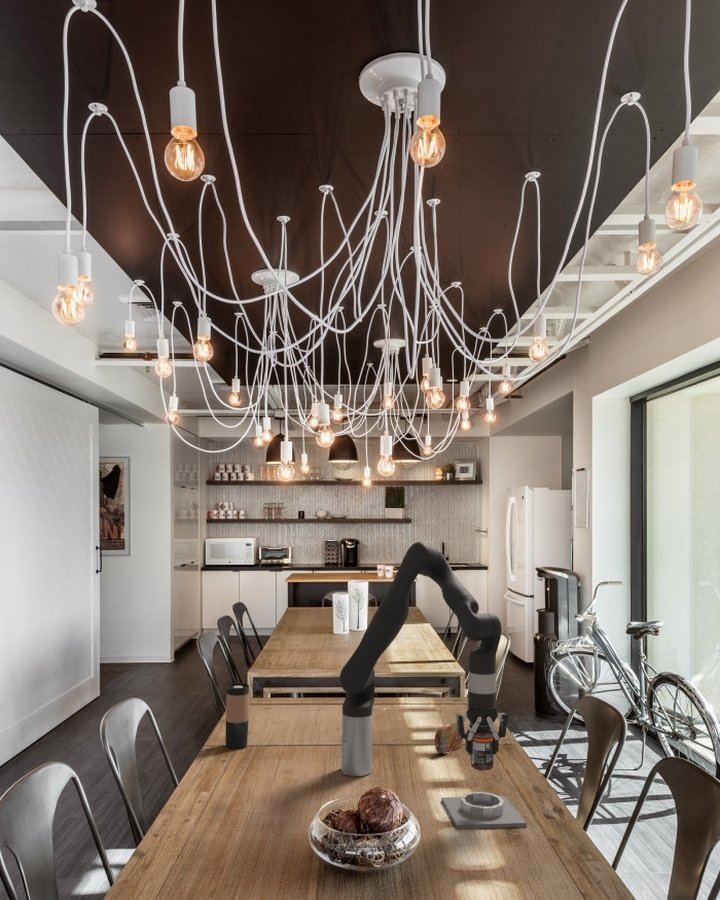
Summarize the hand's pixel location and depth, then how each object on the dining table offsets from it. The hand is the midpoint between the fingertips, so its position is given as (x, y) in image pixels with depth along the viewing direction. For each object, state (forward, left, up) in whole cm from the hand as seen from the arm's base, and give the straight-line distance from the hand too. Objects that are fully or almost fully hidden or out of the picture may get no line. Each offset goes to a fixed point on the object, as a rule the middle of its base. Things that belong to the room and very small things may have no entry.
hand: (481, 753), depth 194 cm
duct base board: (0, 0, -15) cm, 15 cm away
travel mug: (-68, +61, -16) cm, 93 cm away
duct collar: (0, 0, -15) cm, 15 cm away
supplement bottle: (0, 0, -4) cm, 4 cm away
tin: (+3, +52, -16) cm, 54 cm away
